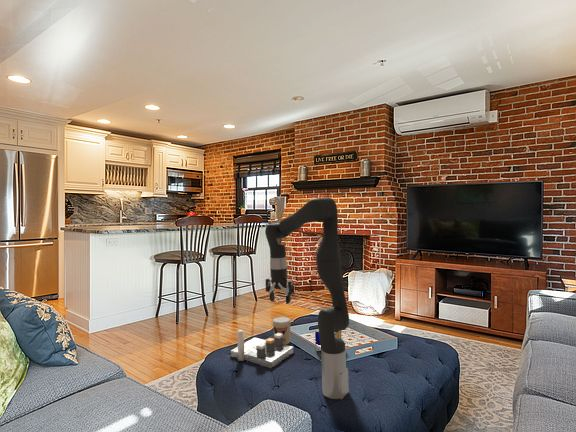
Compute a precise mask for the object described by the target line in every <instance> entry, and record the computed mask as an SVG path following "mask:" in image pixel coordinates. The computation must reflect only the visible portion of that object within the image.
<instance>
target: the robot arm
mask: <svg viewBox="0 0 576 432" xmlns="http://www.w3.org/2000/svg"><path fill="white" fill-rule="evenodd" d="M338 215H339V213H338V206H337V203H336V201H335V200H334V199H333V198H331V197H314V198H312V199H309V200H308V201H307V202H306V203H305V204H304V205H303V206H302V207H300V208H299V209H298V210H297V211H295V212H293V213H292V214H290V215H288V216H286V217H284V218H282V219H281V220H280V221H279V222H276V223H269V224H267V225H266V227H265V237H266V239H267V243H268V247H269V254H270V258H269V261H270V262H269V268H270V269H269V270H270V277H268V278H266V279H265V292H268V293H269V300H270V302H274V301H275V300H276V299H275V290H279V291H282V292H283V293H284V294H285V304H286V305H287V304H290V303H291V301H292V299H291V296H292V295H293V294H295V285H294V280H288V264H287V263H288V262H287V254H286V245H285V243H279V242H278V240H279V239H284V238H288V236H290V235H291V234H293V233H295V232H298V231H299V230H300V229H301V228H302V227H303V226H304V224H309V223H313V222H315V223H321V222H322V229H323V231H322V238H321V242H320V243H319V246H318V249H317V251H316V257H315V259H316V269H317V275H318V277H319V278H320V280H321V281H322V283H323V284H324V286H325V287H326V289H328V292H329V294H330V297H331V303H332V306H330V307H327V308H322V309H320V310H319V312H318V314H317V327H318V329H319V340H320V344H321V352H320V353H321V355H320V356H321V358H320V359H321V361H320V362H321V382H322V384H321V385H322V388H321V389H322V394H323V396H324V397H326V398H328V399H330V400H331V399H332V400H343V399H344V398H345V397H346V396H347V395H348V394H349V392H350V391H349V389H350V388H349V368H348V367H347V365H346V364H347V363H346V360H347V359H346V342H345V340H343V339H339V338H335V334H334V333H335V332H338V331H341V332H342V331H344V330H346V329H347V328H349V324H350V314H349V309H348V304H347V300H346V294H345V287H344V281H343V273H342V272H343V271H342V270H343V269H342V262H341V261H342V260H341V253H340V244H339V243H340V242H339V231H338V230H339V226H338V225H339V223H338V222H339V221H338V219H339V216H338ZM318 329H317V330H318Z"/></svg>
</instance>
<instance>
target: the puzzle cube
mask: <svg viewBox="0 0 576 432" xmlns="http://www.w3.org/2000/svg"><path fill="white" fill-rule="evenodd" d="M314 333H315V336H314V337H315V338H314V339H315V345H316V344H318V345H321V344H320V340H319V329H317V330H316V331H315V332H314ZM334 334H335V338H339V339H342V330H341V331H338V332H335V333H334ZM342 340H343V339H342Z"/></svg>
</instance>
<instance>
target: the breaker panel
mask: <svg viewBox="0 0 576 432" xmlns="http://www.w3.org/2000/svg"><path fill="white" fill-rule="evenodd" d="M260 343H262V344H266V339H262V338H258V337H253V338H251V339H250V340H248V341H244V351H245V354H244V358H245V360H247V361H246V362H248V361H251V362H254V363H253V364H255V363H257V364H256V365H258V364H260V365H259V366H262V367H264V368H269V369H273V368H274V367H276V366H277V365H278V364H280V363H281V362H282V360H283V361H284V360H285V359H287V358H288V357H290V356H291V355H294V346H291V345H289V344H286V345H285V344H283V345H281V346H280V347H279V346H275V350H274V351H272V352H269V351H266V356H264V357H263V358H260V357H257V348H256V345H258V344H260ZM289 355H290V356H289ZM230 357H231V358H234V357H236V358H235V359H238V346H237V347H234V348H233V349H231V350H230ZM286 357H287V358H286ZM251 362H250V363H251ZM272 367H273V368H272Z"/></svg>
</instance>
